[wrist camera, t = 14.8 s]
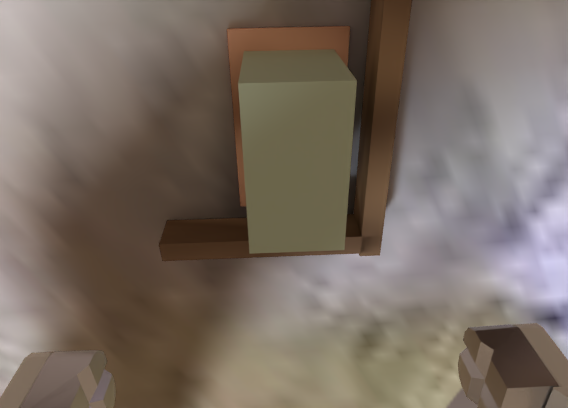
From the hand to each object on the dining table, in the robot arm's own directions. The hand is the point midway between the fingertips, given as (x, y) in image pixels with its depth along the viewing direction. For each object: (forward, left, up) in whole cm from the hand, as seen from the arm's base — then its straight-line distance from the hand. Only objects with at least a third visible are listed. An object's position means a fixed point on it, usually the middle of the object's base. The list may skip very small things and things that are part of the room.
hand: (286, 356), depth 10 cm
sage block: (0, -1, -16) cm, 16 cm away
